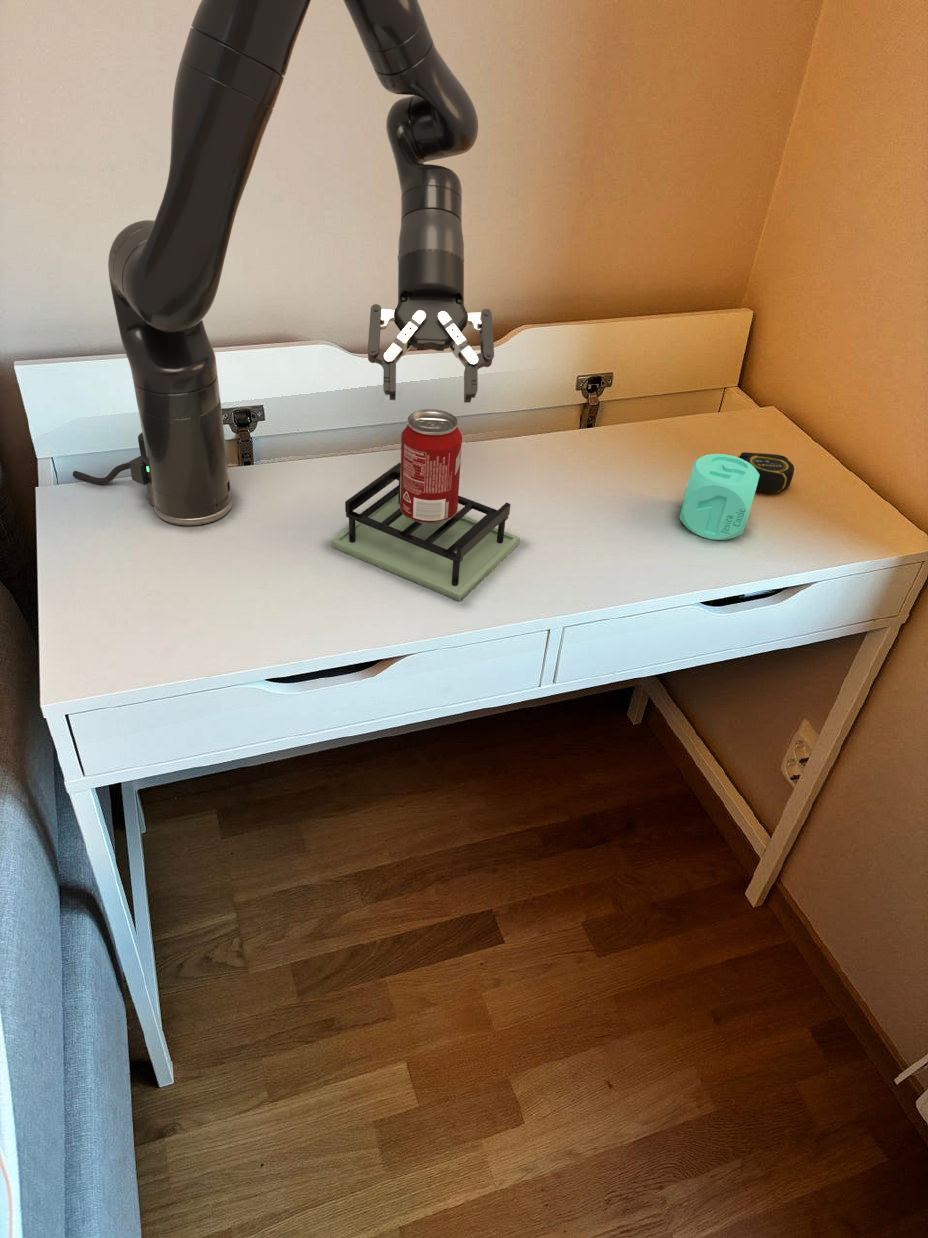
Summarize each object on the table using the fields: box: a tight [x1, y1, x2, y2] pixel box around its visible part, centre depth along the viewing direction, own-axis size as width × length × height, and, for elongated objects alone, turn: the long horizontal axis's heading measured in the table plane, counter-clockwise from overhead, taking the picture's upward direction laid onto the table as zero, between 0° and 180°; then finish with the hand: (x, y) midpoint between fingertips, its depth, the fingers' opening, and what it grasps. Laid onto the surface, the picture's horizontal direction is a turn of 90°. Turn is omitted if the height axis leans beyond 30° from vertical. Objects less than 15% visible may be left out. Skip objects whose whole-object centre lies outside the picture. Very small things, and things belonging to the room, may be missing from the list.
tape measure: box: [737, 451, 795, 494], centre depth 128 cm, size 7×7×4 cm
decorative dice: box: [679, 453, 760, 541], centre depth 119 cm, size 8×8×8 cm
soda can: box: [400, 408, 463, 524], centre depth 107 cm, size 7×7×12 cm
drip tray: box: [330, 494, 521, 603], centre depth 113 cm, size 18×14×1 cm
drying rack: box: [344, 462, 512, 586], centre depth 111 cm, size 16×11×6 cm
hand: (430, 399), depth 106 cm, fingers open, 8 cm apart
